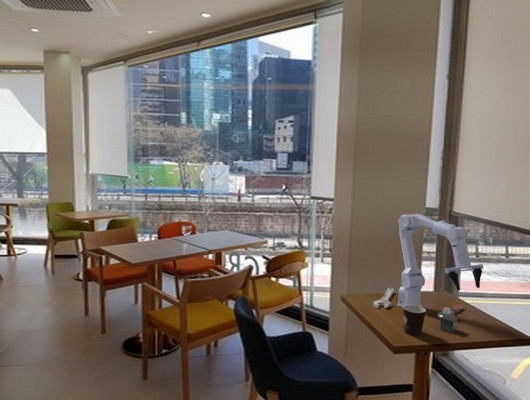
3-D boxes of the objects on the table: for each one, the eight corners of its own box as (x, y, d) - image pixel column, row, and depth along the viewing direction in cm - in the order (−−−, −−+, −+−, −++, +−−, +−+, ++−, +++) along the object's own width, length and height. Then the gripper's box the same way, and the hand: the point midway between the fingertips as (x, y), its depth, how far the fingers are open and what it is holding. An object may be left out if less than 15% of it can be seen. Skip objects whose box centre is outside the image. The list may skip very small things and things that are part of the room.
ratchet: (434, 318, 184) (435, 308, 184) (451, 306, 200) (452, 296, 200) (451, 323, 179) (452, 312, 179) (467, 310, 195) (468, 300, 195)
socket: (440, 329, 172) (440, 318, 171) (444, 326, 176) (445, 314, 175) (452, 333, 169) (453, 321, 168) (456, 329, 172) (457, 318, 172)
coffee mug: (424, 338, 163) (425, 314, 162) (401, 334, 166) (402, 310, 165) (424, 327, 174) (425, 304, 173) (402, 324, 177) (403, 301, 176)
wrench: (399, 289, 219) (389, 306, 192) (399, 292, 219) (389, 310, 192) (383, 286, 222) (372, 303, 195) (383, 289, 222) (372, 307, 195)
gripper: (445, 257, 170) (452, 291, 167) (483, 253, 168) (490, 287, 165) (441, 258, 177) (448, 290, 174) (477, 253, 175) (484, 286, 172)
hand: (468, 288), depth 170 cm, fingers open, 7 cm apart
